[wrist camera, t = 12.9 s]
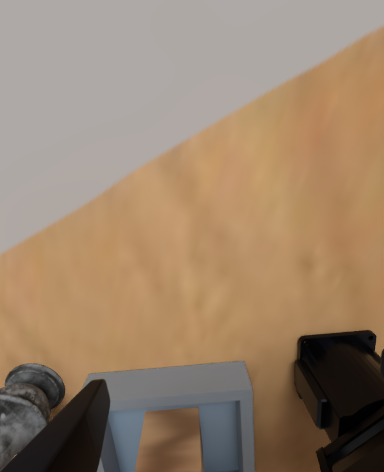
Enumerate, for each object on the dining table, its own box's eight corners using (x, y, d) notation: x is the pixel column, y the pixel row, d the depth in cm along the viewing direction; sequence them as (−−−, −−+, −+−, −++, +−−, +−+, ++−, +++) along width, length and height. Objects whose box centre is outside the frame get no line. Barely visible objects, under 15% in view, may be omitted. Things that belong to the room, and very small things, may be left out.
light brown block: (198, 407, 23) (201, 469, 18) (202, 446, 25) (206, 514, 20) (145, 411, 23) (134, 474, 19) (152, 451, 25) (143, 519, 20)
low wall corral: (244, 360, 22) (252, 389, 20) (248, 472, 26) (255, 510, 23) (89, 373, 23) (74, 404, 20) (114, 483, 26) (105, 522, 23)
